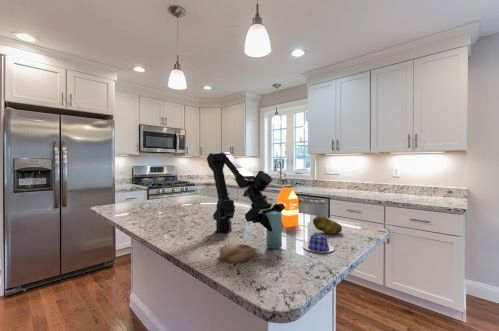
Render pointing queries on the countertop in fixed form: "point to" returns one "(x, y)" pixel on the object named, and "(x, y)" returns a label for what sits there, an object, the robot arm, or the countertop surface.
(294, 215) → the orange juice
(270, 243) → the teal tapered cylinder
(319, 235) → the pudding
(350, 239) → the countertop surface
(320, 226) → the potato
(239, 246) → the base plate
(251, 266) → the countertop surface
